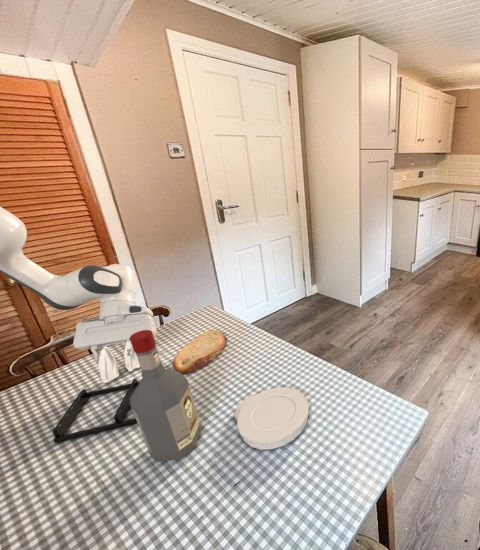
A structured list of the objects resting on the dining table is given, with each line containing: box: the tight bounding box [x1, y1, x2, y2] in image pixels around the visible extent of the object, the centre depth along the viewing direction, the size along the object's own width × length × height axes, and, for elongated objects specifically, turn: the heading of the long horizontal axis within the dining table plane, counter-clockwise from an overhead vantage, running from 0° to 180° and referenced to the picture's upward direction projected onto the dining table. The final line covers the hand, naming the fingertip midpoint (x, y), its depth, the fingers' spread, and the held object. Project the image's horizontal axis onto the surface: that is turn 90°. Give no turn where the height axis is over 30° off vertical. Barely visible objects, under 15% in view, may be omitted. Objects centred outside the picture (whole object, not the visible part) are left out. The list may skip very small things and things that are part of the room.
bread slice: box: [172, 330, 226, 375], centre depth 102 cm, size 18×18×4 cm
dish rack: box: [51, 378, 140, 444], centre depth 80 cm, size 19×16×3 cm
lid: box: [233, 386, 310, 450], centre depth 77 cm, size 17×20×3 cm
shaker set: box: [98, 340, 141, 384], centre depth 91 cm, size 12×4×11 cm, turn 159°
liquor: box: [130, 330, 203, 463], centre depth 65 cm, size 9×9×30 cm
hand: (115, 358), depth 90 cm, fingers closed on shaker set, 6 cm apart
